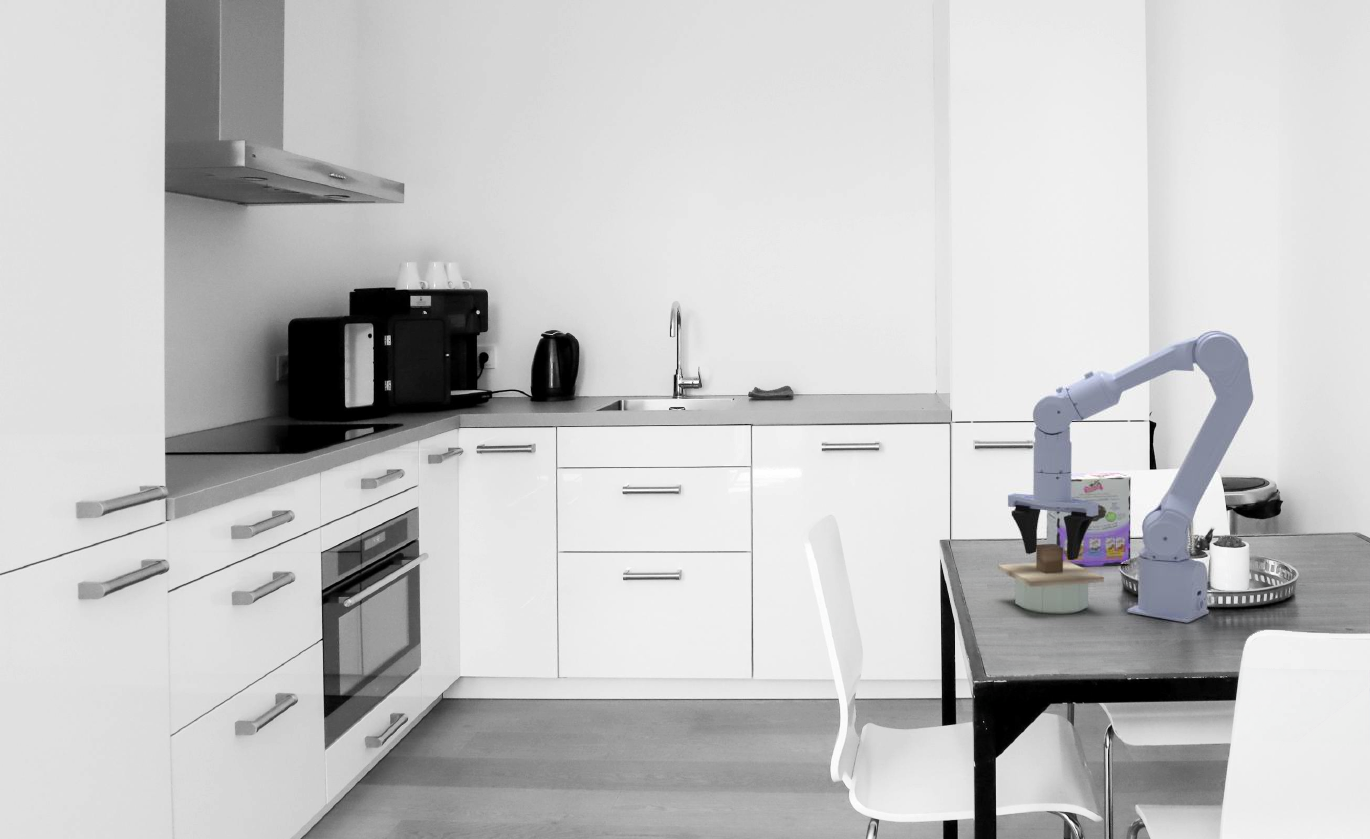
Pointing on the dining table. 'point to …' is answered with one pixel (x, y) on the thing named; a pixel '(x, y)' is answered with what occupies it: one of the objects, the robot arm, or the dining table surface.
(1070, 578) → the birch lid
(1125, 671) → the dining table surface
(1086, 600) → the celadon bowl
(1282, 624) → the dining table surface
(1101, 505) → the candy box
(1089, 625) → the dining table surface
